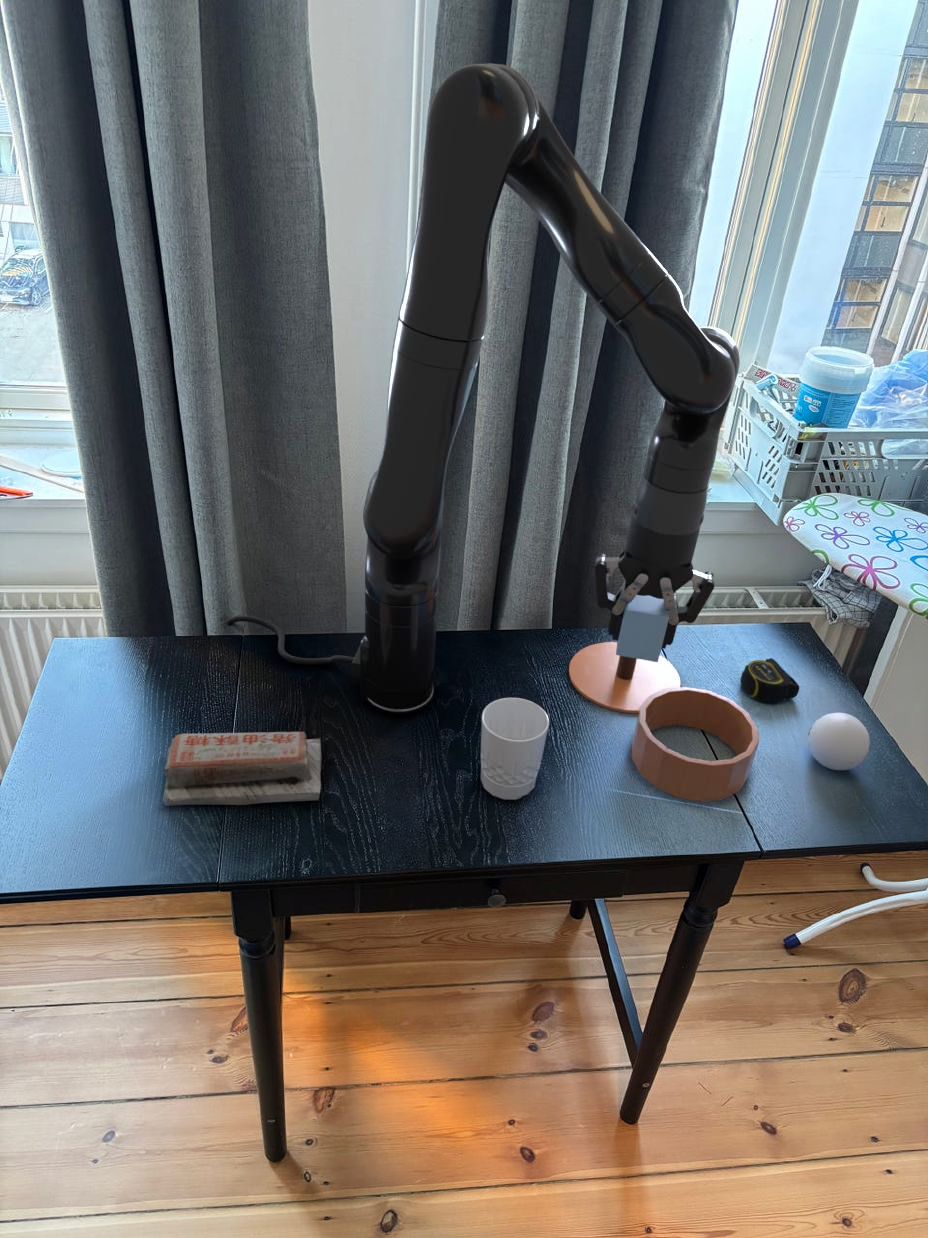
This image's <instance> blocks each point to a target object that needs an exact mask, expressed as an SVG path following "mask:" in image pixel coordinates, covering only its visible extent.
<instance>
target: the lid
mask: <svg viewBox="0 0 928 1238" xmlns="http://www.w3.org/2000/svg"><path fill="white" fill-rule="evenodd" d="M616 648H617V641H606V642H605V641H604V642H600V643H594V644H590V645H588V646H586V647H583V648H581V649H580V650H579V651H577V652H576V653H575V654H574V655H573V656H572V657H571V660H570V662H569V665H568V676H569V679H570V682H571V684H572V686H573V687H574V688H575V690H576V691H577V692H578V693H579V694H580V695H581V696H583V698H585V699H587V700H588V701H589V702H591V703H593V704H595V705H597V706H600V707H602V708H604V709H607V710H609V711H610V710H611V711H614V712H619V713H625V714H639V709H640V707H641V705H642V704H643V703H644V702H645V700H646V699H647V698H648V697H649V696H650V695H652V694H654V693H656V692H659V691H661V690H663V689H666V688H677V687H682V683H681V677H680V674H679V672H678V671H677V669H676V668H675V666H674V665H673V664H672V662H670V661H669V660H668V659H667V658H666V657H664V656H662V655H661V654H660V656H659V660H658V662H653V661H647V660H642V659H636V658H631V657H625V656H620V655H616Z"/></svg>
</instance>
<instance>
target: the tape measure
mask: <svg viewBox="0 0 928 1238" xmlns="http://www.w3.org/2000/svg"><path fill="white" fill-rule="evenodd" d="M740 686H741V689H742V690H743V691H744V693H746V695H748V697H750V698H752V699H753V700H755V701H758V702H760V703H763V704H772V705H773V704H778V703H782V702H783V701H786V700H792V699H794V698H796V697H797V696H798V694H799V692H800V685H799V683H798V682H797V681H796V680H795V679H794V678H793V677H792V676H791V675H789V673H788V672H786V670H785V669H784V668H783V667H782V666H781V665H780V664H779V663H778V662H777V660H776V659H774V658H773V657H771V658H767V659H765V660H762V659H759V660H758V659H757V660H753V661H750V662H749V663H748V664H746V665H745V666H744V669H743V671H742V673H741V675H740Z"/></svg>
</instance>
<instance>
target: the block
mask: <svg viewBox="0 0 928 1238" xmlns="http://www.w3.org/2000/svg"><path fill="white" fill-rule="evenodd" d="M668 620H669V611H666V609H665V605H664V600H663V599H658V598H655V597H652V596H641V595H636V596H635V598H634V599H633V600H632V602H631V603H629V604H626V607H625V609H624V614H623V620H622V625H621V629H620V634H619V639H618V641H617V640H616V642H617V648H616V655H620V656H625V657H631V658H636V659H642V660H647V661H653V662H658V660H659V656H660V655H661V652H662V649H663V648H662V644H663V640H664V636H665V632H666V628H667V624H668Z"/></svg>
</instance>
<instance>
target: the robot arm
mask: <svg viewBox="0 0 928 1238" xmlns="http://www.w3.org/2000/svg"><path fill="white" fill-rule="evenodd" d="M424 151H425V152H424V162H423V163H424V164H423V178H422V189H421V199H420V208H419V216H418V222H417V227H416V230H415V231H416V232H415V237H414V240H413V244H412V249H411V254H410V259H409V262H408V267H407V272H406V273H407V274H406V278H405V284H404V290H403V293H402V294H403V295H402V299H401V303H400V306H399V311H398V317H397V323H396V327H395V332H394V337H393V338H394V339H393V345H392V351H391V358H390V359H391V360H390V369H389V378H388V389H387V404H386V407H387V408H386V422H385V423H386V425H385V436H384V441H383V447H382V452H381V457H380V460H379V464H378V468H377V470H376V471H375V472H374V474H373V475H372V477H371V479H370V481H369V483H368V486H367V491H366V496H365V501H364V505H363V512H362V520H363V528H364V529H365V533H366V536H367V540H366V541H367V542H366V557H365V566H364V635H363V637H362V639H361V641H360V644H359V647H358V649H357V651H356V653H355V655H354V656H348V655H341V654H339V655H336V654H335V655H332V656H330V657H317V658H313V657H312V658H311V657H310V658H308V657H307V658H306V657H298V656H294V655H292V654H289V653H288V652H287V651H286V650H285V641H286V640H285V638H286V637H285V633H284V632H283V630H282V629H281V628H280V627H278V626H277V625H276V624H274V623H272V622H270V621H268V620H266V619H263V618H261V617H257V616H253V615H245V614H242V615H241V614H240V615H235V616H232V617H230V618H228V619H226V620H225V624H226V625H233V624H235V623H239V622H240V623H241V622H246V623H247V622H248V623H253V624H256V625H259V626H262V627H265V628H267V629H268V630H270V631H272V632H274V633H275V634H276V635H277V637H278V640H277V641H278V642H277V652H278V654H279V655H280V657H281V658H282V659H283V660H285V661H287V662H289V663H293V664H297V665H305V666H309V665H310V666H315V665H316V666H317V665H319V666H320V665H332V664H335V663H347V664H351V678H354V679H359V696H360V697H359V700H360V702H363V703H368V705H369V706H371V707H372V708H374V709H375V710H377V711H379V712H381V713H385V714H387V715H398V716H399V715H400V716H401V715H402V716H403V715H409V714H414V713H418V712H419V711H421V710H423V709H425V708H426V707H427V706H428V705H429V704H430V703H431V702H432V700H433V699H434V690H435V689H434V688H435V687H434V682H435V677H436V664H435V658H436V639H437V620H438V602H439V585H440V572H441V555H442V554H441V553H442V536H443V535H442V534H443V519H444V504H445V503H444V502H445V500H444V499H445V498H444V497H445V496H444V494H445V493H444V492H445V491H444V490H445V482H446V476H447V468H448V463H449V458H450V455H451V450H452V447H453V444H454V440H455V438H456V435H457V432H458V430H459V427H460V424H461V421H462V419H463V415H464V412H465V409H466V405H467V403H468V399H469V396H470V393H471V389H472V385H473V382H474V378H475V375H476V371H477V367H478V364H479V361H480V355H481V353H482V347H483V343H484V339H485V334H486V331H487V324H488V318H489V308H490V304H489V303H490V275H489V272H490V271H489V251H490V250H489V249H490V242H491V241H490V240H491V234H492V229H493V225H494V221H495V216H496V213H497V209H498V206H499V202H500V200H501V199H500V198H501V196H502V193H503V190H504V189H503V188H504V186H505V185H507V187H509V188H510V189H511V190H512V191H513V192H515V194H517V195H518V196H519V197H520V199H522V200H523V202H524V203H525V204H526V205H527V206H528V207H529V209H530V210H531V211H532V212H533V214H534V215H535V216H536V217H537V219H538V220H539V222H540V223H541V224H542V226H543V228H544V229H545V230H546V231H547V233H548V234H549V236H550V238H551V240H552V241H553V243H554V245H555V247H556V249H557V250H558V252H559V254H560V256H561V257H562V259H563V261H564V262H565V263H564V264H566V266H567V268H568V269H569V271H570V273H571V275H572V276H573V277H574V279H575V280H576V281H577V283H578V285H579V286H580V287H581V289H582V290H583V292H584V293H585V294H586V295H587V296H588V298H589V299H590V300H591V301H592V302H593V304H594V305H595V306H596V307H597V308H598V310H599V311H600V312H601V313H602V314H603V315H604V317H606V319H607V320H608V321H609V322H610V324H611V325H613V327H614V328H615V329H616V330H617V332H618V333H620V334H621V335H622V336H623V337H624V339H625V340H626V342H627V344H628V345H629V347H630V349H631V351H632V353H633V355H634V357H635V358H636V360H637V361H638V364H639V366H640V367H641V368H642V369H643V371H644V373H645V375H646V376H647V378H648V380H649V381H650V383H651V384H652V386H653V387H654V388H655V390H656V391H657V393H658V394H659V395H660V396H661V397H662V399H663V401H662V406H661V411H660V415H659V418H658V420H657V423H656V426H655V428H654V430H653V432H652V435H651V438H650V441H649V445H648V449H647V456H646V459H645V464H644V469H643V473H642V476H641V479H640V483H639V485H638V487H637V490H636V494H635V495H636V496H635V501H634V504H633V506H632V508H633V509H632V515H631V519H630V524H629V530H628V534H627V539H626V543H625V547H624V549H623V551H622V552H621V553H620V555H619V556H612V557H611V556H610V557H607V555H606V554H604V553H598V554H597V555H596V557H595V562H594V563H595V565H594V577H595V589H596V590H595V591H596V599H597V600H596V601H597V606H598V607H599V608H600V609H607V610H609V611H610V617H609V622H608V628H607V632H608V635H610V636H612V638H611V640H612V641H616V642H617V641H618V639H619V634H620V629H621V625H622V620H623V614H624V609H625V607H626V604H629V603H631V602H632V600H633V599H634V598H635V596H636V595H641V596H652V597H655V598H658V599H663V600H664V605H665V609H666V611H669V620H668V624H667V628H666V632H665V636H664V640H663V644H662V648H661V649H662V650H663V649H664V650H666V649H667V646H671V645H672V644H673V643H674V639H675V635H676V632H677V627H678V625H679V624H680V623H683V622H685V623H687V624H693V623H694V622H695V621H696V620H697V618H698V617H699V615H700V613H701V611H702V609H703V608H704V607H705V604H706V603H707V601H708V600H709V598H710V597H711V594H712V593H713V592H714V589H715V575H714V573H713V572H712V571H705V572H701V571H698V570H695V569H694V566H693V558H694V554H695V549H696V546H697V542H698V538H699V534H700V531H701V528H702V527H701V525H702V524H703V522H704V519H705V511H706V507H707V503H708V502H707V501H708V492H709V486H710V483H711V477H712V473H713V471H714V466H715V462H716V458H717V453H718V452H717V450H718V444H719V437H720V432H721V429H722V425H723V423H724V419H725V417H726V413H727V410H728V407H729V404H730V401H731V398H732V394H733V391H734V388H735V384H736V381H737V378H738V373H739V371H740V363H741V362H740V354H739V349H738V346H737V344H736V342H735V341H734V339H733V338H732V337H731V336H730V335H729V334H728V333H727V332H726V331H724V330H722V329H720V328H717V327H713V326H702V327H699V326H698V325H697V323H696V322H695V320H694V319H693V318H692V317H691V315H690V314H689V312H688V311H687V309H686V308H685V305H684V299H683V298H684V297H683V293H682V291H681V289H680V287H679V286H678V284H677V283H676V281H675V280H674V279H673V277H672V276H671V275H670V274H669V273H668V271H667V270H666V269H665V268H664V267H663V265H662V264H661V263H660V262H659V260H658V259H657V258H656V257H655V256H654V254H653V253H652V252H651V251H650V250H649V249H648V248H647V246H646V244H644V243H643V242H642V240H641V239H640V238H639V237H638V236H637V234H636V233H635V232H634V231H633V230H632V228H630V226H628V224H627V223H626V222H625V221H624V219H623V218H622V217H621V216H620V214H619V213H618V212H617V211H616V210H615V209H614V208H613V206H612V205H611V204H610V203H609V202H608V201H607V199H606V198H605V197H604V195H603V194H602V193H601V192H600V190H599V189H598V188H597V187H596V185H595V184H594V183H593V181H592V180H591V179H590V177H589V176H588V175H587V173H586V172H585V169H583V168H582V166H581V165H580V163H579V162H578V160H577V159H576V157H575V156H574V154H573V153H572V151H571V150H570V148H569V147H568V145H567V143H566V142H565V141H564V139H563V137H562V136H561V134H560V132H559V130H558V129H557V127H556V125H555V123H554V122H553V120H552V119H551V116H550V115H549V113H548V111H547V110H546V108H545V106H544V105H543V102H542V101H541V99H540V98H539V96H538V94H537V93H536V91H535V89H534V88H533V86H532V84H531V83H530V81H529V80H528V79H527V77H526V76H524V75H523V73H521V72H520V71H518V70H517V69H515V68H513V67H511V66H508V65H506V64H502V63H475V64H474V63H473V64H467V65H464V66H461V67H459V68H458V69H456V70H454V71H453V72H451V73H450V74H449V75H448V76H447V77H446V78H445V79H444V80H443V81H442V82H441V83H440V85H439V86H438V88H437V90H436V92H435V94H434V96H433V99H432V101H431V104H430V107H429V112H428V117H427V126H426V138H425V150H424ZM616 569H619V571H620V573H621V575H622V576H623V578H624V581H623V583H622V584H621V586H620V588H619V590H618V591H617V593H616V594H612V593H610V583H609V578H610V577H612V576H613V575H614V571H615V570H616ZM690 581H691V582H692V590H693V591H692V594H691V595H690V597H689V598H688V601H687V602H686V604H685V605H684V606H679V602H678V597H677V595H678V594H677V591H678V590H680V589H681V588H682V587H684V586H685V585H687V583H689V582H690Z"/></svg>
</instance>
